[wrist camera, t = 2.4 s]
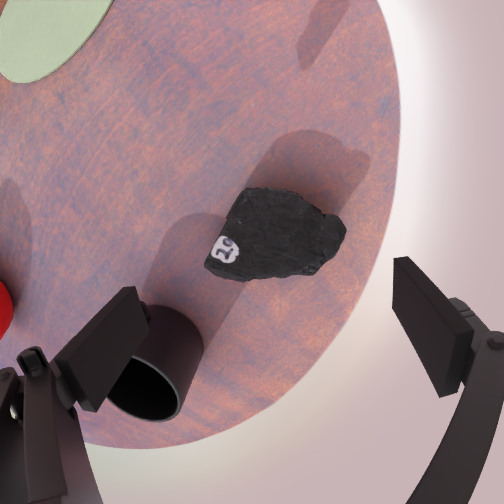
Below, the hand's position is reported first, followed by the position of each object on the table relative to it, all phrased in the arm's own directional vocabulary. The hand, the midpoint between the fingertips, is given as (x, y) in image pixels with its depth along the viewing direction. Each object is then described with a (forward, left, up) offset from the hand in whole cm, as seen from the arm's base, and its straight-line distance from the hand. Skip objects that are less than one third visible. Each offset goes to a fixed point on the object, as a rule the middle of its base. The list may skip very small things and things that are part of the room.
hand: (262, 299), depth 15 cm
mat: (+22, -33, -15) cm, 42 cm away
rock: (0, 0, -15) cm, 15 cm away
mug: (+14, +10, -15) cm, 23 cm away
